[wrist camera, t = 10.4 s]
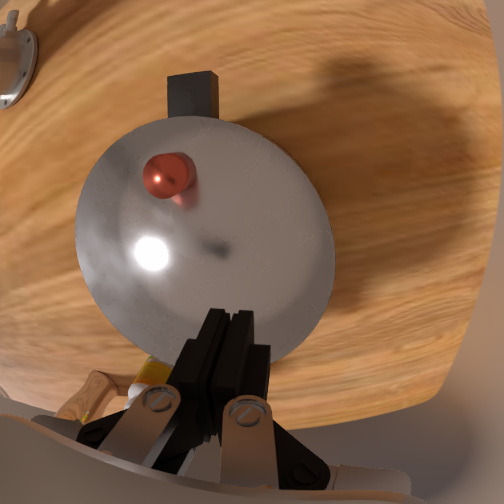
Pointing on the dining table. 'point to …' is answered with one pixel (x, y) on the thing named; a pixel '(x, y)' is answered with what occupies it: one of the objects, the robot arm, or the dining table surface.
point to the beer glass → (89, 399)
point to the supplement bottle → (148, 377)
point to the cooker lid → (203, 236)
